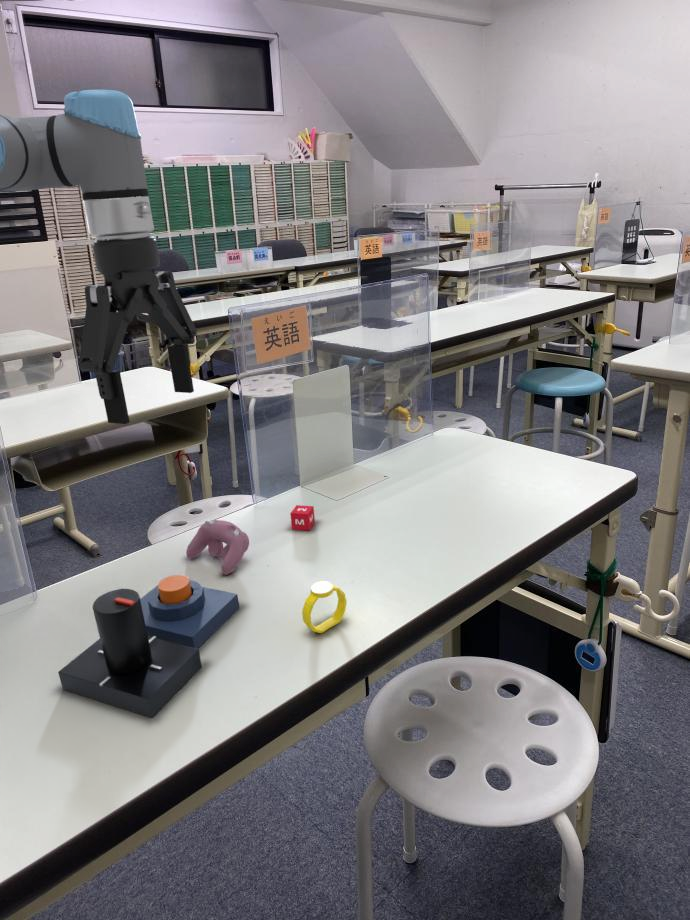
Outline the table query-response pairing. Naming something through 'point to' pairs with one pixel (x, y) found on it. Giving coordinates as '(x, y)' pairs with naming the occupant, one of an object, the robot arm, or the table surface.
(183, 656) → the dial panel
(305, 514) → the red letter cube
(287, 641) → the table surface
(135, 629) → the dial
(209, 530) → the video game controller
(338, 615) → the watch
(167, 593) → the button
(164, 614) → the button base
